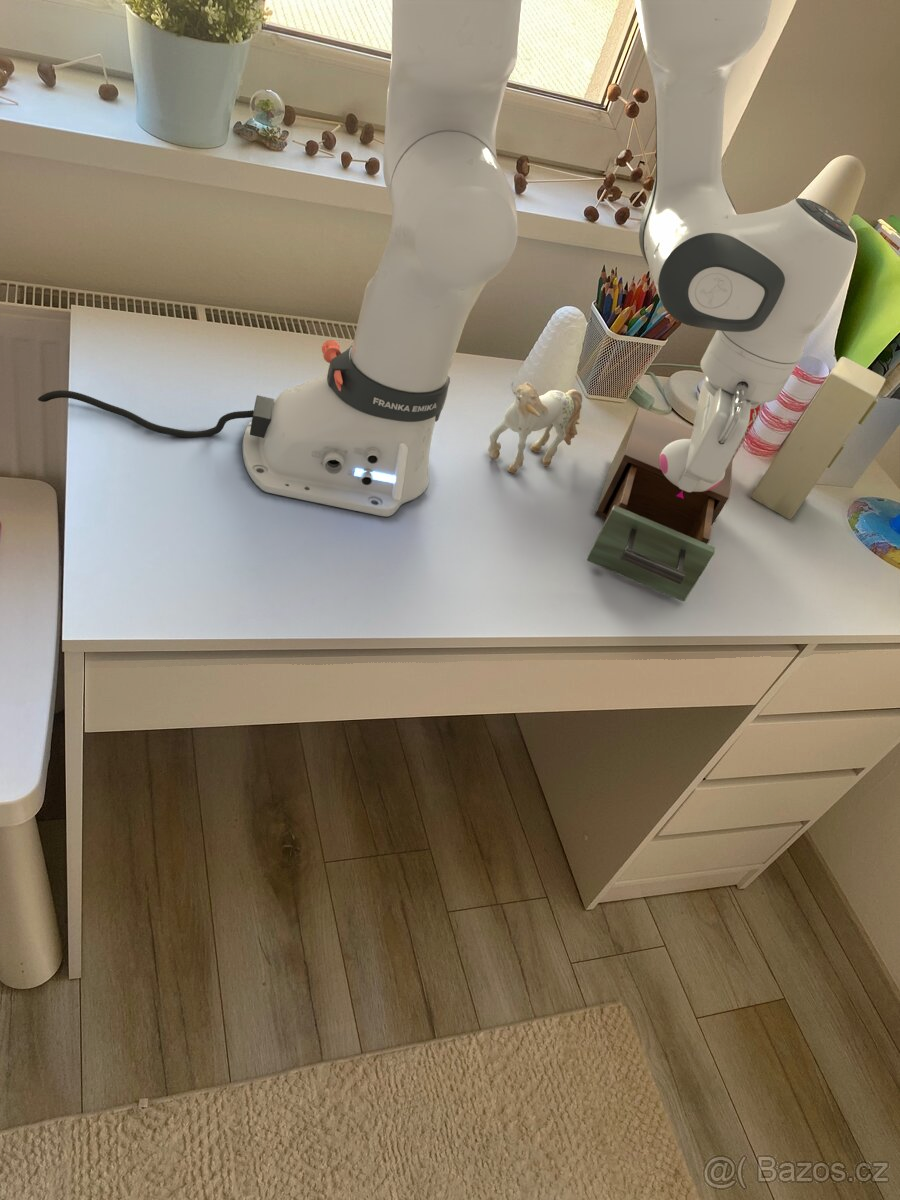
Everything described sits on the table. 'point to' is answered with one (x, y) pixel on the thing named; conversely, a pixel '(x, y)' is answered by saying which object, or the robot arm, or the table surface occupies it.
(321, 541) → the table surface
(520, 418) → the unicorn figurine
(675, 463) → the stress ball
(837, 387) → the toy refrigerator
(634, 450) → the cabinet
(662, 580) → the drawer
